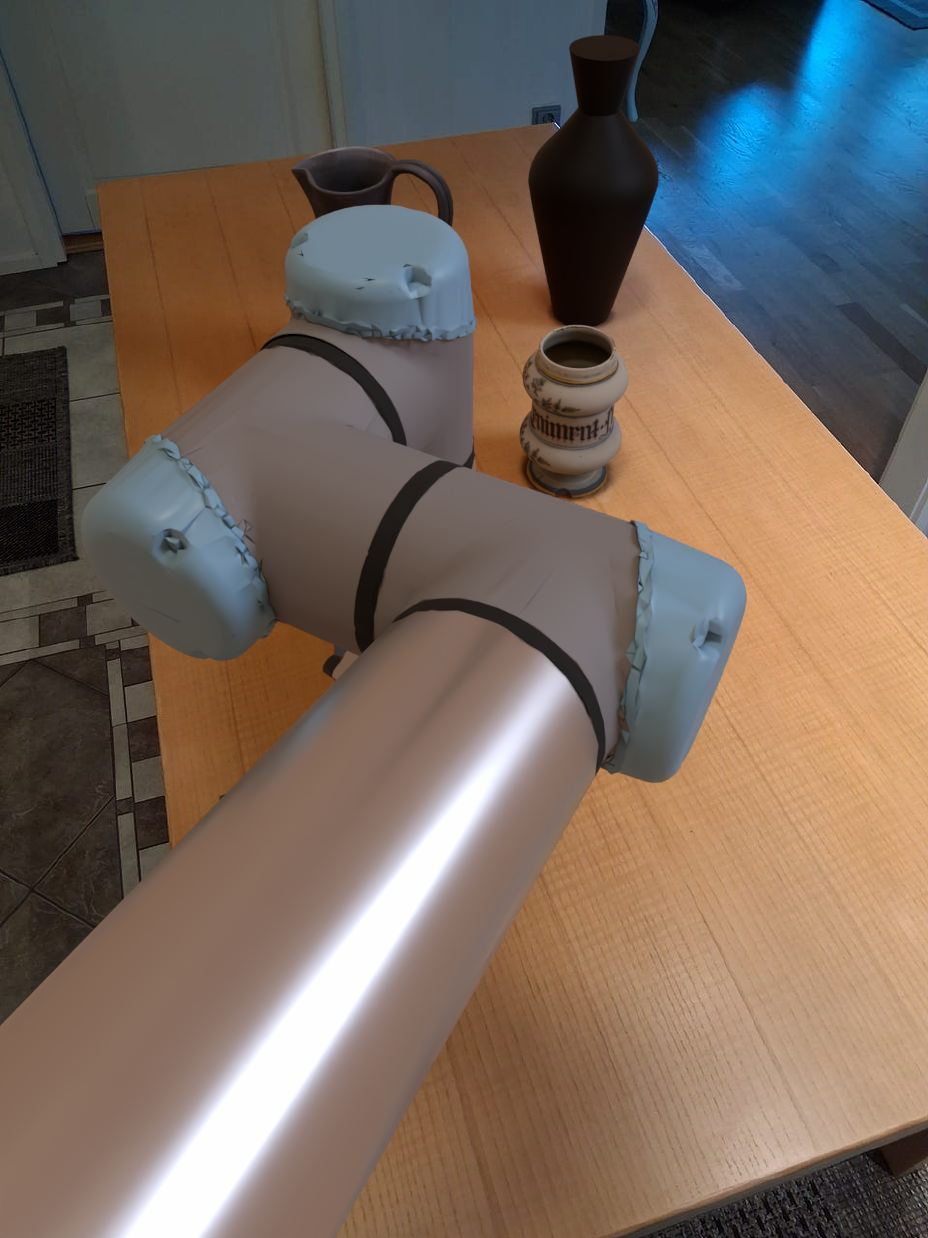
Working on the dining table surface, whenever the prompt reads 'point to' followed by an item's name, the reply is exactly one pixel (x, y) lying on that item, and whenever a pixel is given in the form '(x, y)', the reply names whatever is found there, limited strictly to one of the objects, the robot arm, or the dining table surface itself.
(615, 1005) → the dining table surface
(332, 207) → the pitcher
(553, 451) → the apothecary jar
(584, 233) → the vase
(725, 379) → the dining table surface
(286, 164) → the dining table surface
